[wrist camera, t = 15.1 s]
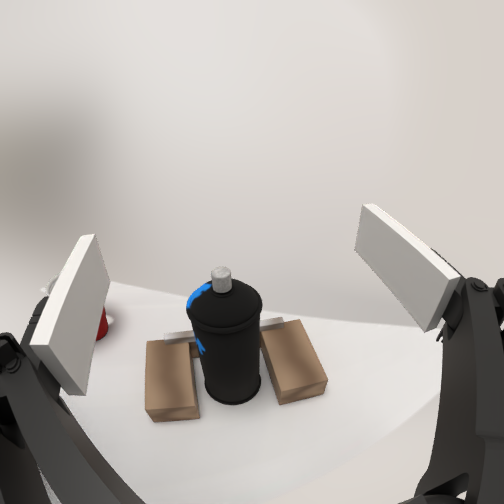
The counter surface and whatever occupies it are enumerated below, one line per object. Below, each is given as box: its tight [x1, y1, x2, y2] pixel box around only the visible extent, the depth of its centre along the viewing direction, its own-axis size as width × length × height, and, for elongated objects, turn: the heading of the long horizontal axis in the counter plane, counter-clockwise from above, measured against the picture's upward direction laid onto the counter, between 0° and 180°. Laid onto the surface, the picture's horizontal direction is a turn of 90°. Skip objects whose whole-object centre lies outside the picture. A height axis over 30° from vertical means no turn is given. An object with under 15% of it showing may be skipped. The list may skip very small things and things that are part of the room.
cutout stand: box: [145, 317, 328, 422], centre depth 38 cm, size 24×12×5 cm, turn 102°
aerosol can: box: [186, 267, 262, 405], centre depth 34 cm, size 8×8×20 cm
